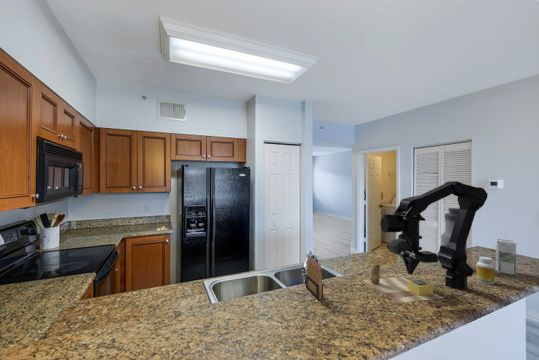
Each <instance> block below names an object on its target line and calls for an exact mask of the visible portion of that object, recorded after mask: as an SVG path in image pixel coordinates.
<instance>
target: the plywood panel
mask: <svg viewBox="0 0 539 360" xmlns="http://www.w3.org/2000/svg"><path fill="white" fill-rule="evenodd" d="M408 281H410V280H409V279H407V278H405V277H403V276H398V277H397V276H396V277H385V278H380V282H379V284H373V283H372V281H371V279H369V278H368V279H363V282H365V283H367V284H368V285H369V286H371V287H373V288H374V289H375V290H377V291H379V292H380V293H381V294H383V295H385V296H387V297H388V298H389V299H391V300H392V301H394V302H395V303H397V304H401V303H411V302H413V303H414V302H421V301H431V300H440V299H444V297H443V296H442V295H441V296H440V295H439V294H437V293H435V292H433V294H428V295H417V294H415V293H413V292H412V291H410V290H408V289H407V284H408Z"/></svg>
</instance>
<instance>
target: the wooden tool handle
mask: <svg viewBox="0 0 539 360" xmlns="http://www.w3.org/2000/svg"><path fill="white" fill-rule="evenodd" d="M380 268H381V267H380V264H378V263H375V262H373V263H371V264H370V278H371V281H372V283H373V284H379V282H380V279H381V278H380V275H381V274H380V271H381V270H380Z"/></svg>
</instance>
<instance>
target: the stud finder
mask: <svg viewBox="0 0 539 360" xmlns="http://www.w3.org/2000/svg"><path fill="white" fill-rule="evenodd" d="M407 289H408V290H410V291H412V292H413V293H415V294H417V295H428V294H433V293H434V285H433V284H431V283H429V282H427V281H425V280H423V279H415V280H409V281H408V284H407Z"/></svg>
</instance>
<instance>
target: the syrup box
mask: <svg viewBox="0 0 539 360" xmlns="http://www.w3.org/2000/svg"><path fill="white" fill-rule="evenodd" d="M495 270H496V271H497V272H498V273H499V274H505V275H511V276H517V243H516V242H515V241H514V240H510V239H501V238H496V239H495Z"/></svg>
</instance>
